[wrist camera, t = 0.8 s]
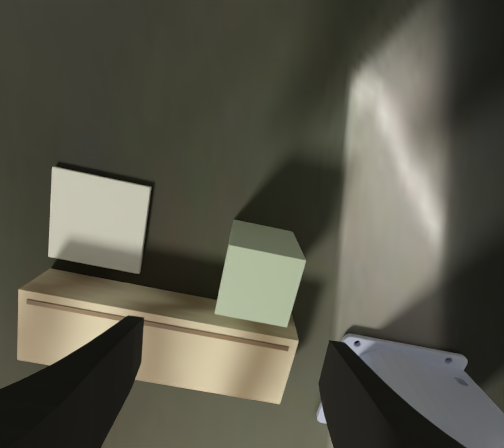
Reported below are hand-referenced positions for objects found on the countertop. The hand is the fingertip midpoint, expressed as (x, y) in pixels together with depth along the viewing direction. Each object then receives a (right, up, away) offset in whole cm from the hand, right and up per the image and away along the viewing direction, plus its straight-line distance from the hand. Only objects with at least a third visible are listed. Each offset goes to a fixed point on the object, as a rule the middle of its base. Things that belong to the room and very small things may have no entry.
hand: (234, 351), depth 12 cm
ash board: (-5, -2, +10) cm, 12 cm away
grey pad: (-9, +5, +8) cm, 13 cm away
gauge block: (+1, +3, +9) cm, 10 cm away
